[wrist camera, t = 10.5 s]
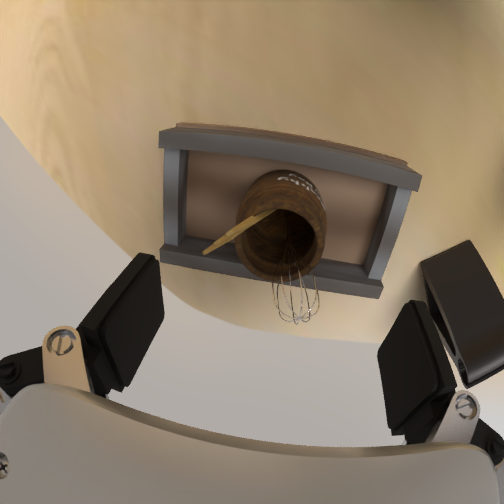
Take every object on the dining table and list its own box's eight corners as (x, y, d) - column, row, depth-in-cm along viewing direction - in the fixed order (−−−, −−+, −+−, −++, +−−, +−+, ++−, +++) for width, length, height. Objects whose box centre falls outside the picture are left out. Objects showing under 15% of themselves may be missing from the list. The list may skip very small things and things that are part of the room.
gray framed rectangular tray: (180, 122, 20) (159, 126, 17) (403, 160, 19) (423, 171, 16) (177, 242, 26) (160, 265, 22) (367, 275, 25) (377, 301, 21)
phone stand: (471, 302, 25) (514, 380, 14) (429, 322, 27) (462, 408, 16) (469, 238, 21) (536, 316, 11) (420, 260, 23) (473, 354, 13)
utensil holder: (278, 252, 24) (263, 367, 13) (227, 195, 22) (166, 281, 11) (336, 212, 21) (372, 313, 11) (286, 148, 19) (278, 192, 9)
